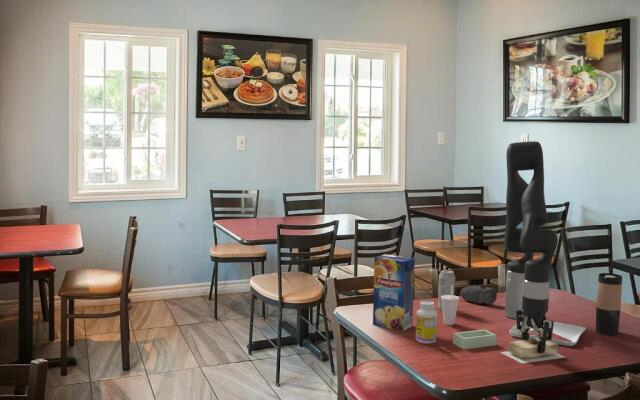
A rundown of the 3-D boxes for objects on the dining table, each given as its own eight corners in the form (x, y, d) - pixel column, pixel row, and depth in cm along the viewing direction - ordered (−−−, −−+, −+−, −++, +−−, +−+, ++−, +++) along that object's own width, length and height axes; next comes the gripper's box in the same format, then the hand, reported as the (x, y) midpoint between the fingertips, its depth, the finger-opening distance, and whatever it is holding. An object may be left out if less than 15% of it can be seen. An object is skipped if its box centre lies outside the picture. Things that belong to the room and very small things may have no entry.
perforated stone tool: (457, 300, 260) (457, 284, 260) (463, 298, 264) (464, 281, 264) (491, 307, 251) (492, 290, 250) (497, 305, 255) (498, 288, 254)
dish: (484, 342, 208) (484, 329, 207) (495, 348, 202) (496, 334, 202) (452, 346, 203) (453, 333, 203) (463, 353, 198) (464, 338, 197)
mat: (541, 350, 201) (542, 346, 201) (564, 361, 192) (565, 357, 192) (499, 356, 195) (500, 352, 195) (521, 367, 186) (521, 363, 186)
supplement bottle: (413, 337, 212) (414, 299, 210) (433, 337, 212) (434, 299, 211) (418, 344, 205) (419, 305, 204) (438, 344, 206) (440, 305, 204)
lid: (542, 346, 199) (543, 334, 199) (557, 353, 193) (558, 340, 193) (508, 351, 194) (508, 338, 194) (522, 358, 188) (523, 345, 188)
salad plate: (522, 325, 229) (523, 316, 229) (586, 335, 218) (586, 326, 218) (507, 341, 211) (507, 331, 211) (575, 353, 200) (576, 342, 200)
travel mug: (617, 330, 224) (621, 274, 222) (620, 336, 217) (624, 278, 215) (593, 327, 227) (597, 272, 225) (595, 333, 219) (599, 276, 217)
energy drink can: (455, 312, 243) (456, 273, 242) (439, 311, 243) (440, 273, 242) (452, 307, 249) (453, 270, 248) (436, 307, 249) (438, 269, 248)
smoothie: (458, 327, 225) (459, 287, 223) (439, 325, 226) (441, 286, 224) (458, 321, 231) (459, 283, 229) (440, 320, 232) (441, 282, 231)
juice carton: (412, 325, 225) (415, 258, 223) (403, 330, 219) (405, 261, 217) (382, 319, 232) (384, 254, 229) (372, 324, 226) (374, 257, 223)
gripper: (562, 300, 187) (559, 355, 188) (529, 288, 200) (526, 340, 202) (542, 302, 184) (539, 358, 186) (509, 290, 197) (507, 342, 199)
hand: (532, 348), depth 194 cm, fingers closed on lid, 6 cm apart
